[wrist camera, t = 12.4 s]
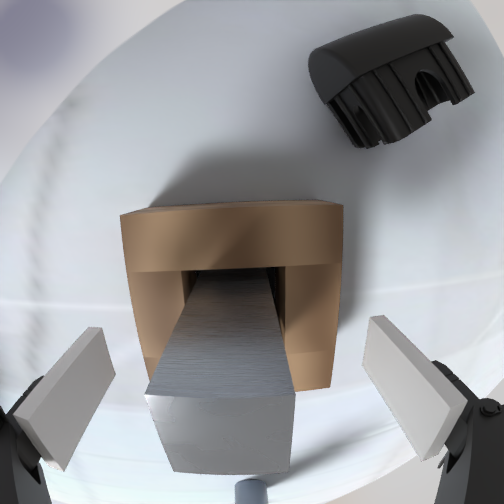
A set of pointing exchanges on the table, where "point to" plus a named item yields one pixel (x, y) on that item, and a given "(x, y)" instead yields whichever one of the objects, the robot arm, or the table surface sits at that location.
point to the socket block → (241, 256)
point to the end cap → (388, 78)
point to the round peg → (251, 492)
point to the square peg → (225, 380)
